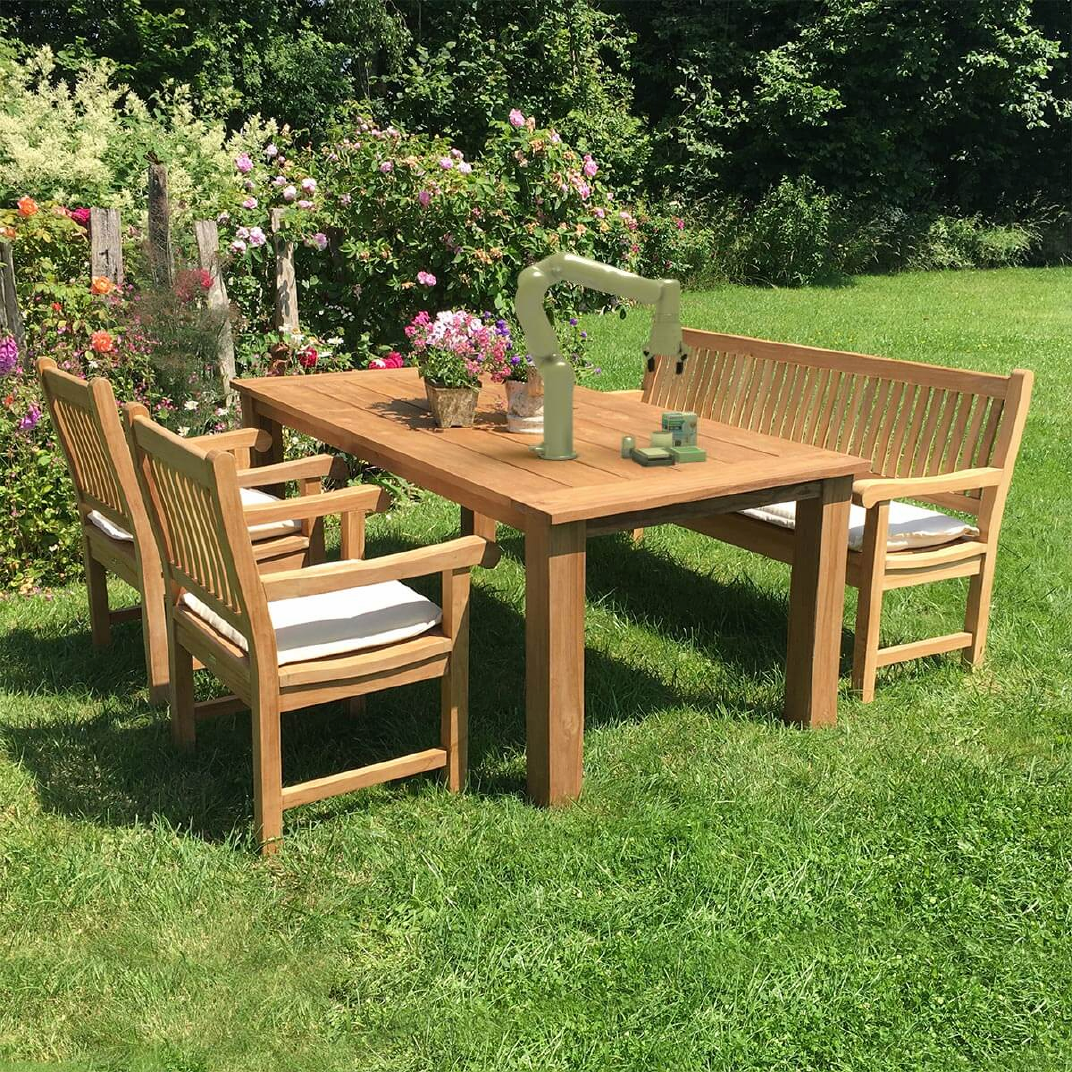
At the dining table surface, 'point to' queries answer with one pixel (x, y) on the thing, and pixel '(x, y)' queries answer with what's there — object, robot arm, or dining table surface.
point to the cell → (627, 446)
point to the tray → (688, 454)
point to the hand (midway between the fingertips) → (665, 372)
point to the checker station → (653, 459)
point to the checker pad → (653, 452)
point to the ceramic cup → (661, 439)
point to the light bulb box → (681, 428)
